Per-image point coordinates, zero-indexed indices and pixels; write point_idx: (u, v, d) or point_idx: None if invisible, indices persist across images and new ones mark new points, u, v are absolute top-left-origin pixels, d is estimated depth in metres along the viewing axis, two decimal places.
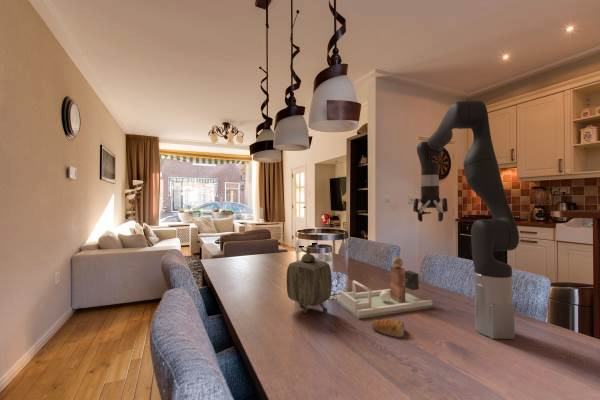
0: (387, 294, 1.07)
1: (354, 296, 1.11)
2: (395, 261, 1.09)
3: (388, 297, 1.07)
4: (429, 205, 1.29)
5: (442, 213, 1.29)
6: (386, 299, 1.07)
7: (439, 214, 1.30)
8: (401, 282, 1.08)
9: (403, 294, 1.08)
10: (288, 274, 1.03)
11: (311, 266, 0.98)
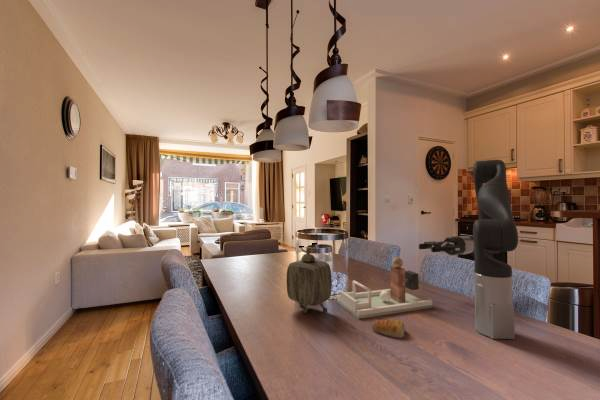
0: (387, 294, 1.07)
1: (354, 296, 1.11)
2: (395, 261, 1.09)
3: (388, 297, 1.07)
4: (440, 243, 1.17)
5: (440, 247, 1.11)
6: (386, 299, 1.07)
7: None
8: (401, 282, 1.08)
9: (403, 294, 1.08)
10: (288, 274, 1.03)
11: (311, 266, 0.98)
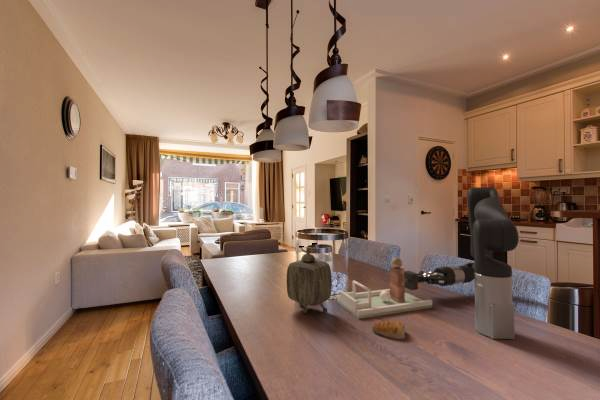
0: (387, 294, 1.07)
1: (354, 296, 1.11)
2: (394, 261, 1.09)
3: (388, 297, 1.07)
4: None
5: (422, 277, 1.12)
6: (386, 299, 1.07)
7: None
8: (400, 282, 1.08)
9: (402, 294, 1.08)
10: (288, 274, 1.03)
11: (311, 266, 0.98)
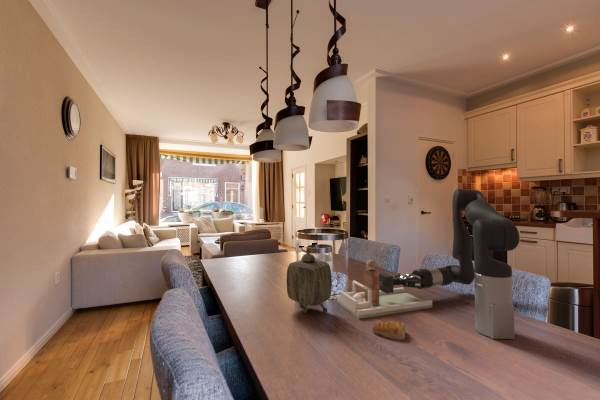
0: (360, 298, 1.04)
1: None
2: (369, 263, 1.06)
3: (360, 301, 1.03)
4: None
5: (399, 280, 1.09)
6: None
7: None
8: (375, 285, 1.05)
9: (377, 297, 1.05)
10: (288, 274, 1.03)
11: (311, 266, 0.98)
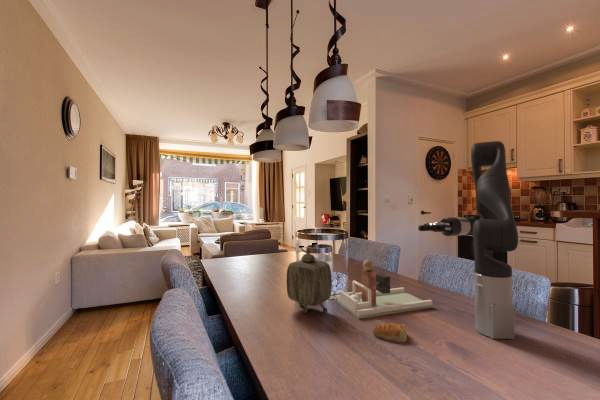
0: (356, 298, 1.03)
1: None
2: (365, 263, 1.05)
3: None
4: None
5: (429, 226, 1.13)
6: None
7: None
8: (371, 286, 1.04)
9: (374, 298, 1.04)
10: (288, 274, 1.03)
11: (311, 266, 0.98)
